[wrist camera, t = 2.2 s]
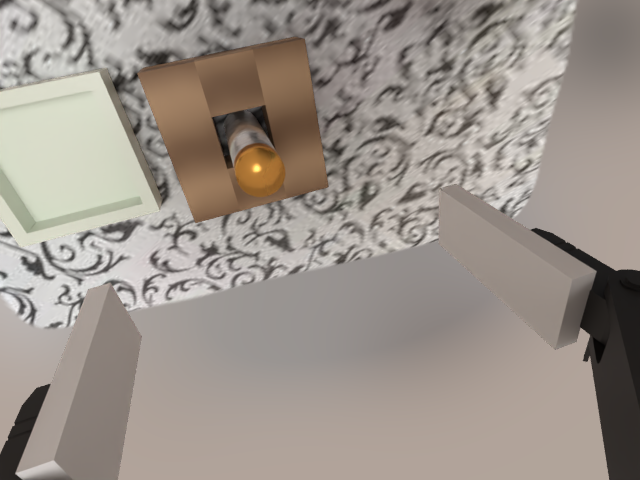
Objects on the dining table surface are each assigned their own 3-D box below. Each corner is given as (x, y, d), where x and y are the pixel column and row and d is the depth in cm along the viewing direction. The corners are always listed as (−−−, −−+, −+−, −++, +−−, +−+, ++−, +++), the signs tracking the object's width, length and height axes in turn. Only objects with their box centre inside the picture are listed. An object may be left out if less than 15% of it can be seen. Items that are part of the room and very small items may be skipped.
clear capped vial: (219, 113, 32) (229, 156, 22) (254, 106, 33) (279, 144, 23) (229, 148, 34) (243, 202, 24) (262, 140, 34) (290, 190, 24)
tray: (-56, 100, 27) (-78, 107, 25) (106, 67, 28) (99, 71, 26) (32, 232, 33) (20, 247, 30) (162, 198, 34) (160, 211, 32)
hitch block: (143, 67, 29) (137, 73, 26) (294, 36, 31) (304, 38, 28) (195, 206, 35) (195, 223, 32) (318, 173, 37) (328, 187, 34)
